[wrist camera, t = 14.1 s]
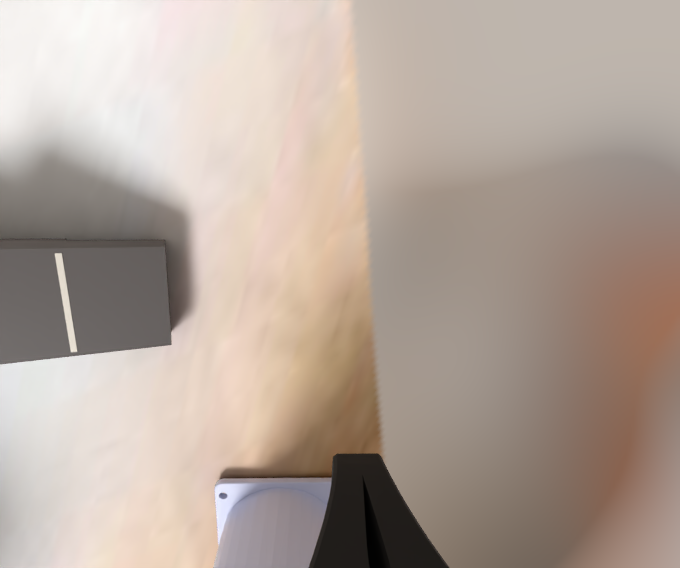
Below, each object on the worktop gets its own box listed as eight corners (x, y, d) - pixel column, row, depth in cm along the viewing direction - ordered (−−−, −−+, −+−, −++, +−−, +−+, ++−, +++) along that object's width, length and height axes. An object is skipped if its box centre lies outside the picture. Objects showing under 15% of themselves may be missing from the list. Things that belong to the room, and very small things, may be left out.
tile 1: (164, 247, 17) (-77, 250, 14) (171, 345, 18) (-44, 369, 15) (164, 239, 18) (-56, 241, 15) (171, 331, 20) (-27, 351, 16)
